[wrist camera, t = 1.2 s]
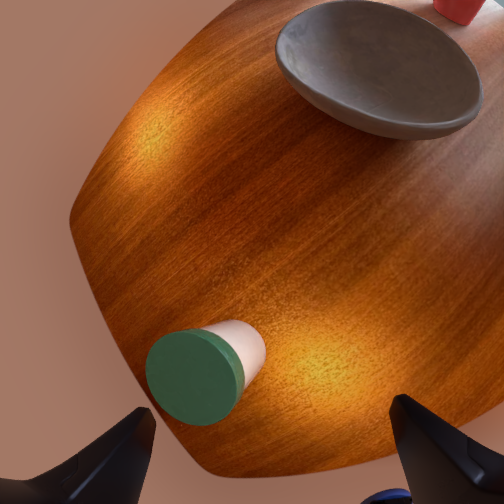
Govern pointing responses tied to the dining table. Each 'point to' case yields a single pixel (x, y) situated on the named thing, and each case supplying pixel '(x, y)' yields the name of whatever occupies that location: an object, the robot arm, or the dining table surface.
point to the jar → (242, 345)
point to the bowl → (380, 69)
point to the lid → (195, 376)
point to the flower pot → (458, 9)
